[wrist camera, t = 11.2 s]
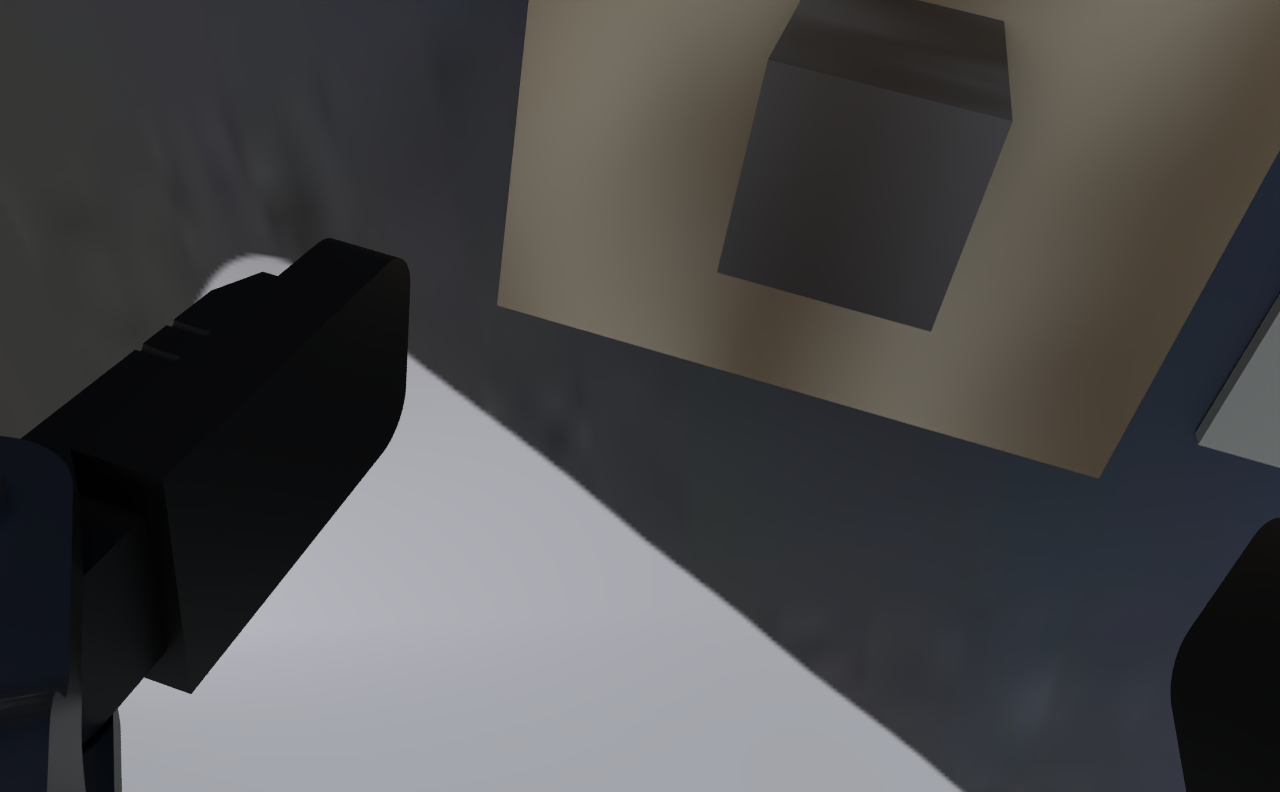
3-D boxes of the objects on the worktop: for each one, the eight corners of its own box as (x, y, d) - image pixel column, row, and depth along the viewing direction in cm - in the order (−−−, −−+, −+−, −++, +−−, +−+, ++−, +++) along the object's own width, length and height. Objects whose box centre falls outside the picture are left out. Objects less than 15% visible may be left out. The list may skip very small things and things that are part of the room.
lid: (1482, -263, 15) (1717, -240, 10) (1095, 455, 22) (1126, 659, 18) (591, -444, 16) (436, -495, 12) (510, 288, 24) (396, 436, 19)
